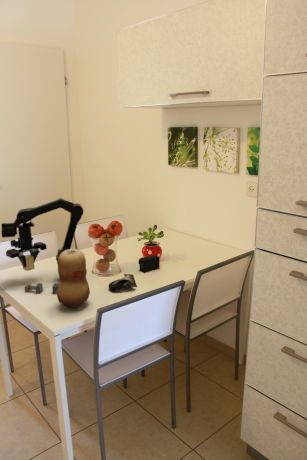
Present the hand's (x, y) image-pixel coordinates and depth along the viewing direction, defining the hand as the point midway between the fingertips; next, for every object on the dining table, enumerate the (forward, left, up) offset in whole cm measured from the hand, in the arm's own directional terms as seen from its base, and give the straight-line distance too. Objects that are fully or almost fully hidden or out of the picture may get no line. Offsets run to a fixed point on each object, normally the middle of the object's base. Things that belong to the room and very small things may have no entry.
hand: (28, 266), depth 190 cm
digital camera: (-59, -15, -9) cm, 62 cm away
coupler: (0, 0, -1) cm, 1 cm away
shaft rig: (-11, +11, -9) cm, 18 cm away
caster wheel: (-46, +11, -10) cm, 48 cm away
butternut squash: (-26, +26, -9) cm, 38 cm away
